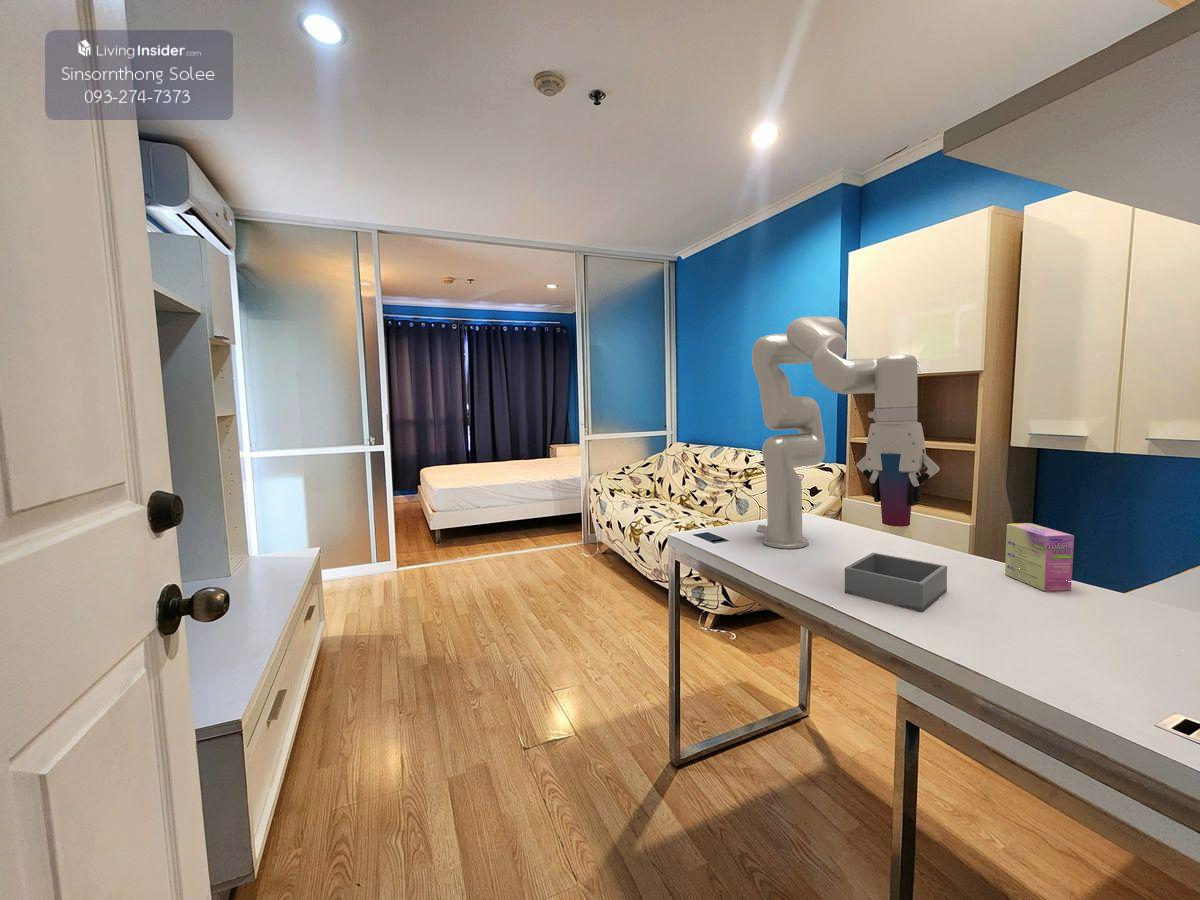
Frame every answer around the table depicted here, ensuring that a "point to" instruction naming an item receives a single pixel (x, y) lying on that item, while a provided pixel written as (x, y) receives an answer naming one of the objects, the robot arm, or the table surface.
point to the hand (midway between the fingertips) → (895, 502)
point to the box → (1039, 556)
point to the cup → (894, 492)
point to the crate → (896, 581)
